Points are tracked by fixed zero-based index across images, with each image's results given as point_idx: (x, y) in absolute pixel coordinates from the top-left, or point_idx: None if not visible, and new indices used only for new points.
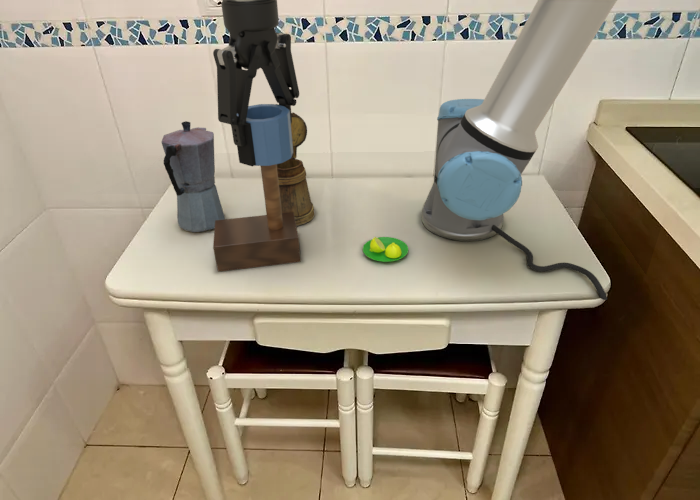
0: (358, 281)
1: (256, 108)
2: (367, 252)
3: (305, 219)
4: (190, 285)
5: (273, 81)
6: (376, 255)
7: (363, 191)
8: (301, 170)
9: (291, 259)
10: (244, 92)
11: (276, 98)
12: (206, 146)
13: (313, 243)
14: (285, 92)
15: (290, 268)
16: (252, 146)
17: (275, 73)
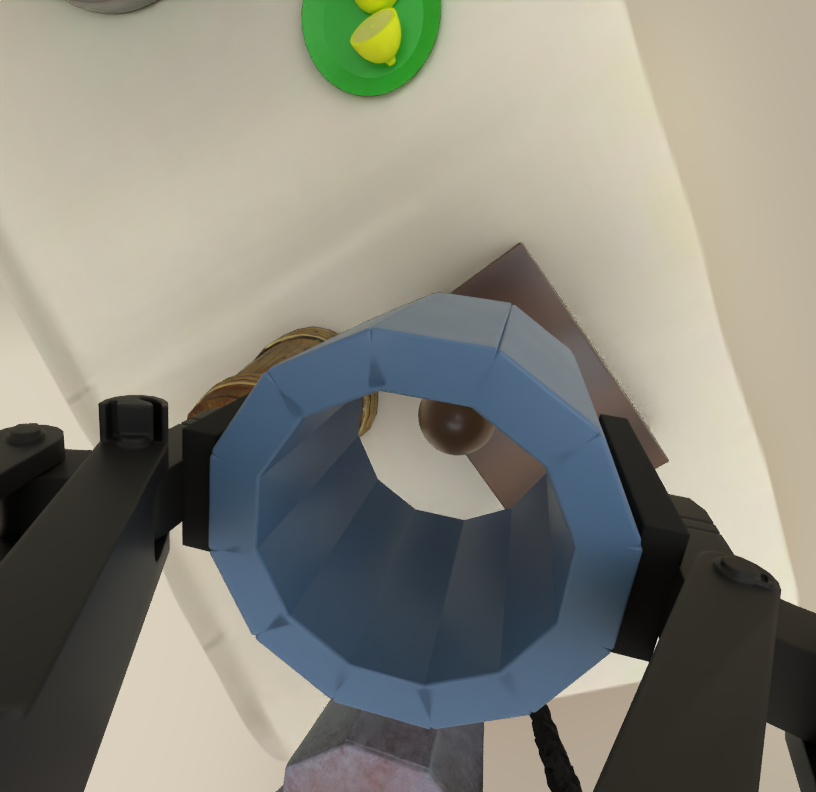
0: (550, 16)
1: (321, 630)
2: (402, 70)
3: (331, 336)
4: (732, 463)
5: (103, 645)
6: (402, 37)
7: (107, 264)
8: (234, 389)
9: (536, 263)
10: (758, 782)
11: (163, 556)
12: (388, 738)
13: (419, 258)
14: (118, 488)
15: (562, 252)
16: (624, 453)
17: (43, 674)
